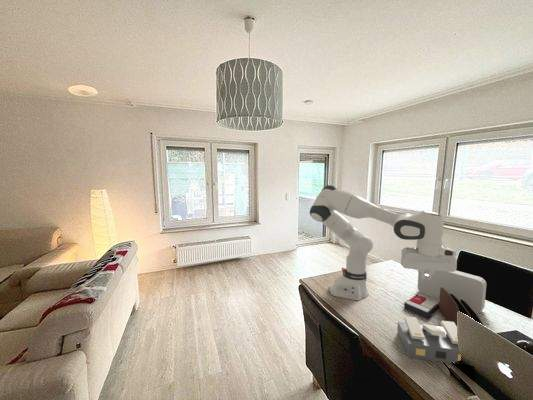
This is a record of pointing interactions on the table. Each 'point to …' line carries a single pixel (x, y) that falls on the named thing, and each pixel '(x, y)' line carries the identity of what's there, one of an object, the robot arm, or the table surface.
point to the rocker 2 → (433, 330)
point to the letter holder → (454, 307)
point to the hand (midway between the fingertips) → (426, 278)
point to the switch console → (429, 345)
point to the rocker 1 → (414, 328)
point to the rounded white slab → (455, 287)
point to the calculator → (421, 306)
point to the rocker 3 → (450, 330)
